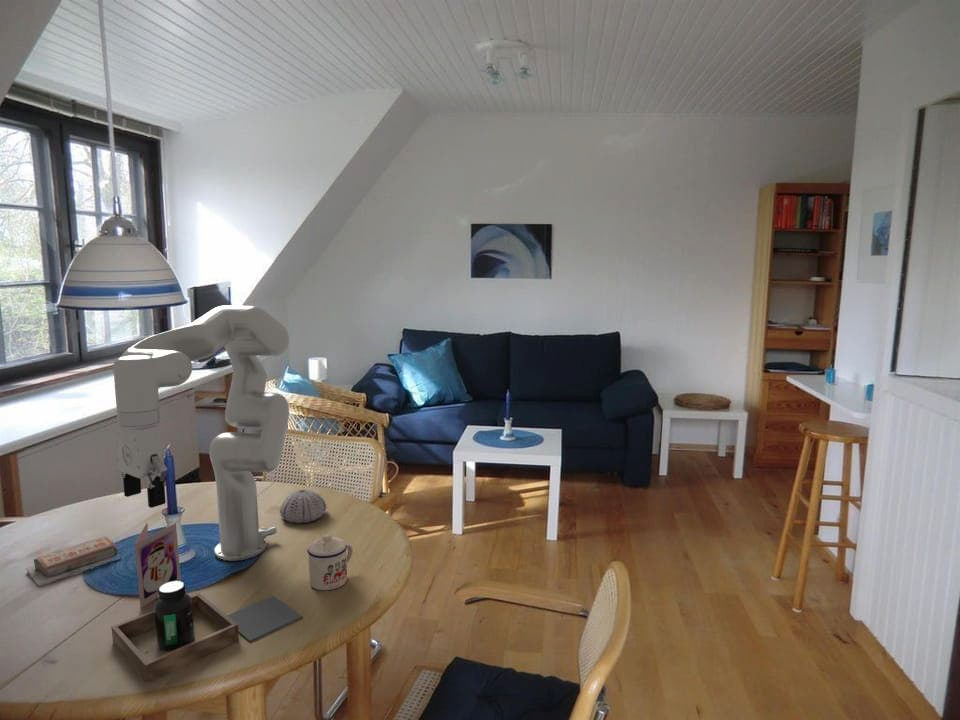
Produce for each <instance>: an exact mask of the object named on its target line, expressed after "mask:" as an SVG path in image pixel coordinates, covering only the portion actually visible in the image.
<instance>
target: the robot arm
mask: <svg viewBox="0 0 960 720" xmlns="http://www.w3.org/2000/svg"><path fill="white" fill-rule="evenodd" d="M289 343H290V338H289V333H288V330H287V329H286V327H285V326H284V325H283V324H282V323H281V322H280V321H279V320H277V319H276V318H275V317H274V316H272V315H271V314H270V313H269V312H267V311H266V310H265V309H262V308H261V307H259V306H255V305H230V304H229V305H227V304H226V305H225V304H224V305H220V306H217V307H214V308H212V309H211V310H209V311H207V312H206V313H205V314H203V315H202V316H200V317H198V318H197V319H195V320H194V321H192V322H190V323H189V324H187V325H183V326H180V327H177V328H172V329H171V330H167V331H164V332H161V333H157V334H154V335H151V336H148V337H145V338H144V339H141V340H140V341H138V342H136V343H135V344H133V345H131V346H130V347H128V349H126V350H125V351H124V352H123V353H122V354H121V356H120V357H117V358H116V359H115V360H114V362H113V376H114V377H113V380H114V393H115V394H114V395H115V404H116V405H115V406H116V420H117V440H116V447H117V449H116V450H117V468H118V470H119V471H121V477H123V478H122V482H123V495H124V497H127V498H128V497H132V496H136V495H139V494H141V493H142V482H141V479H143V478H145V481H146V482H147V485H148V487H147V488H146V489H147V490H146V491H147V494H146V495H147V504H148V508H150V509H153V508H156V507H159V506H162V505H165V504H166V483H167V482H166V481H167V474H168V468H167V466H166V464H165V461H164V451H163V450H164V449H163V443H162V435H161V430H160V426H159V425H160V424H161V411H160V397H159V389H160V388H169V387H170V388H171V387H178V386H181V385H182V384H183V385H184V383H186V382H187V380H189V378H190V377H191V374H192V372H193V363H192V362H194V361H200V360H203V359H207V358H210V357H211V356H214V354H216V353H217V352H218V351H219V350H221V349H222V348H223V347H224V349H225V351H226V353H227V356H228V358H229V360H230V364H231V366H232V377H231V378H232V379H231V384H230V388H229V393H228V396H227V400H226V404H225V410H224V411H225V412H224V418H225V422H226V423H227V424H228V426H231V427H233V428H240V429H253V430H254V429H255V430H261V433H253V432H252V433H251V432H243V431H242V432H241V431H237V432H236V431H228V432H223V433H220V434H218V435H216V436H215V437H214V438H213V439H212V441H211V443H210V446H209V450H208V451H209V459H210V463H211V465H212V466H211V467H212V469H213V472H214V473H213V474H214V477H215V484H216V485H215V486H216V500H217V501H216V502H217V514H218V530H219V543H218V544H216V546H215V547H214V550H213V551H214V556H215V555H216V556H217V557H218V558H217V557H216V556H215V557H216V558H217V559H219V558H220V559H219V560H221V559H223V560H222V561H226V560H227V561H228V562H229V561H230V562H237V561H238V560H239V561H243V560H244V561H245V560H248V559H251V558H254V557H256V556H258V555H260V554H262V553H263V552H264V551H265V549H266V547H267V543H266V540H265V539H266V538H267V537H269V536H272V535H275V534H277V531H278V530H277V528H276V526H272V527H267V526H265V525H264V526H262V527H259V513H258V494H257V493H258V491H257V483H256V479H255V477H254V475H253V474H252V472H255V473H269V472H273V471H274V470H276V469H277V467H278V466H279V464H280V461H281V458H282V454H283V450H284V444H285V439H286V434H287V428H288V423H289V417H290V407H289V403H288V399H287V398H286V397H285V396H284V395H282V394H281V393H278V392H266V391H265V390H266V386H267V385H266V384H267V378H268V377H267V376H268V375H267V372H266V369H265V367H264V365H263V364H262V362H261V360H260V359H259V358H258V356H260V357H262V356H263V357H278V356H281V355H283V354H284V353H285V352H287V350H288V348H289ZM152 477H154V479H153V478H152ZM227 561H226V562H227Z"/></svg>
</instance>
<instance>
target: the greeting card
mask: <svg viewBox="0 0 960 720" xmlns="http://www.w3.org/2000/svg"><path fill="white" fill-rule="evenodd" d="M148 527H149V526H148V522H146V523H145V525H144V527H143V528H142V530H141V532H140V534H138V535H139V536H138V538H137V539H136V540H135V542H134V552H135V553H134V554H135V562H136V563H135V564H136V565H135V566H136V575H137V585H138V594H139V596H138V597H139V605H140V606H139V607H140V608H143V607H145V606H146V605H148V604H149V603H151V602H152V601H155V600H157V599H158V589H159V587H160V586H161V585H163V584H165V583H167V582H170V581H182V580H181V570H180V569H181V568H180V556H179V545H178V544H179V543H178V531H177V522H175V523H172V524H171V525H169V526H166V527H165V528H162V530H159V531H157V532H155V533H153V534H151V535H149V528H148Z"/></svg>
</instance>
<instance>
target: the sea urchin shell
mask: <svg viewBox="0 0 960 720" xmlns="http://www.w3.org/2000/svg"><path fill="white" fill-rule="evenodd" d="M326 509H327V503H326V500H325V499H324V498H323V497H322V495H320V494H319V493H317V492H316V491H314V490H313V489H312V490H311V489H307V488H306V489H297V490H295V491H292V492H291V493H289V495H287V496H286V498H285V499H284V501H283V502H282V503H281V505H280V507H279V514H280V516H281V519H283V521H287V522H289V523H293V524H294V523H295V524H302V523H304V524H306V523H310V522H314V521H317V519H320V518H321V517H323V515H324V514H325V513H326V511H327V510H326Z"/></svg>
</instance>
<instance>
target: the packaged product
mask: <svg viewBox="0 0 960 720" xmlns="http://www.w3.org/2000/svg"><path fill="white" fill-rule="evenodd" d="M115 556H120V555H119V554H118V548H117V547H116V543H114V542H113V541H112V540H111V539H110V538H108V536H104V537H100V538H96V539H94V540H89V541H86V542H82V543H79V544H76V545H72V546H70V547H66V548H63V549H59V550H56V551H53V552H49V553H46V554H43V555H39V556H37V557H35V558H34V559H33V563H34V565H33V566H28V567H26V568H25V569H26V571H27V574H28V575H29V577H30V578H31V579H32V580H33V581H34V583H35V584H36V585H37V586H39V587H41V586H45V585H48V584H50V583H53V582H56V581H58V580H63V579H66V578H68V577H67V576H69V577H72V576H75V575H77V574H76V573H78V574H81V573H83V572H82V571H84V570H87V569H89V568H92V567H94V566H97V565H100V564H103V563H106V562H108V561H111V560H113V558H114V557H115ZM117 558H119V557H117ZM80 572H81V573H80ZM74 574H75V575H74ZM71 575H72V576H71ZM65 577H66V578H65ZM62 578H63V579H62Z"/></svg>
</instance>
